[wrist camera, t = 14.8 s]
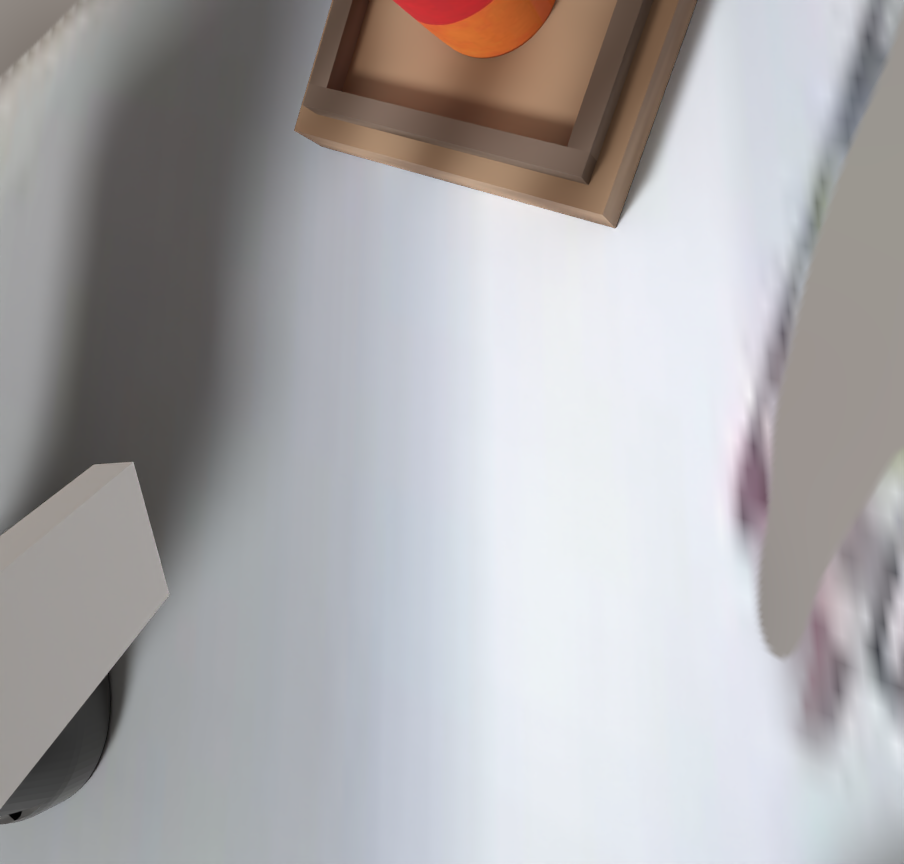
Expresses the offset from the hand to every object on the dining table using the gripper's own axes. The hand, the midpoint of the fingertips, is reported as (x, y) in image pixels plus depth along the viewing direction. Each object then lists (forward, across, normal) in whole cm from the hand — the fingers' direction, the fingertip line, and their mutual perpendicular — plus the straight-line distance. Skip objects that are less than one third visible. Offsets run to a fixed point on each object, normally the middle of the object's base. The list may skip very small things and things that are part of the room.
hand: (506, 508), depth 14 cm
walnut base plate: (+29, 0, +11) cm, 31 cm away
